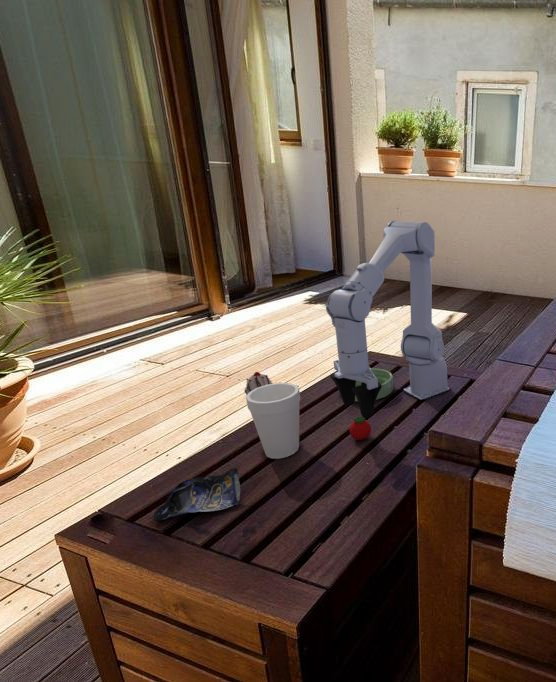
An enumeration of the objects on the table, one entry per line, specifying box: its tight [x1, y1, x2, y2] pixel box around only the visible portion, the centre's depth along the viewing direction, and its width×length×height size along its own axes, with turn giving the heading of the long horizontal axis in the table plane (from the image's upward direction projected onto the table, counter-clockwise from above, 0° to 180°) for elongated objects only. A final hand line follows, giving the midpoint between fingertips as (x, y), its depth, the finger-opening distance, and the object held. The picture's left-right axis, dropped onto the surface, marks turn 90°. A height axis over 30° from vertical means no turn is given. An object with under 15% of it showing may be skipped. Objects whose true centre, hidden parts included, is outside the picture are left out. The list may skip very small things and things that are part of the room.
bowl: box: [355, 367, 395, 402], centre depth 123 cm, size 13×13×4 cm
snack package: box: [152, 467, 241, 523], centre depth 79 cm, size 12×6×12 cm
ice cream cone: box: [243, 371, 274, 396], centre depth 100 cm, size 6×6×15 cm
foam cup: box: [245, 382, 301, 460], centre depth 94 cm, size 10×9×13 cm
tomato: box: [349, 416, 372, 441], centre depth 101 cm, size 4×4×5 cm
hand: (358, 409), depth 99 cm, fingers open, 7 cm apart
